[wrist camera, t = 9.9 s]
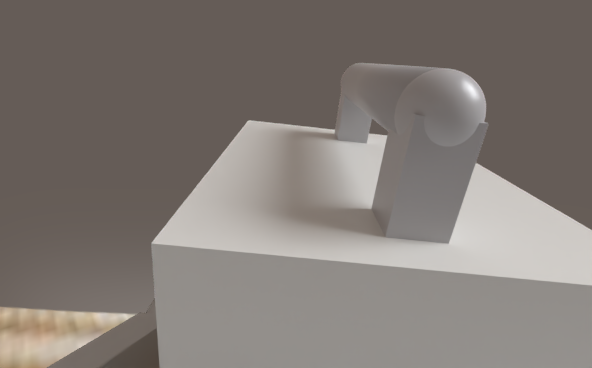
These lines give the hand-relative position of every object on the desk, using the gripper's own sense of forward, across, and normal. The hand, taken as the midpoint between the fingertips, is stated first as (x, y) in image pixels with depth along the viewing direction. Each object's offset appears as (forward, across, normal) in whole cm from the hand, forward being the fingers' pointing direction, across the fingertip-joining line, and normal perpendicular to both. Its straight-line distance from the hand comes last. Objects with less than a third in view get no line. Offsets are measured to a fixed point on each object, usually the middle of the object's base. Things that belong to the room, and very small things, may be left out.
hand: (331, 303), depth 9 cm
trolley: (-1, 0, +6) cm, 7 cm away
